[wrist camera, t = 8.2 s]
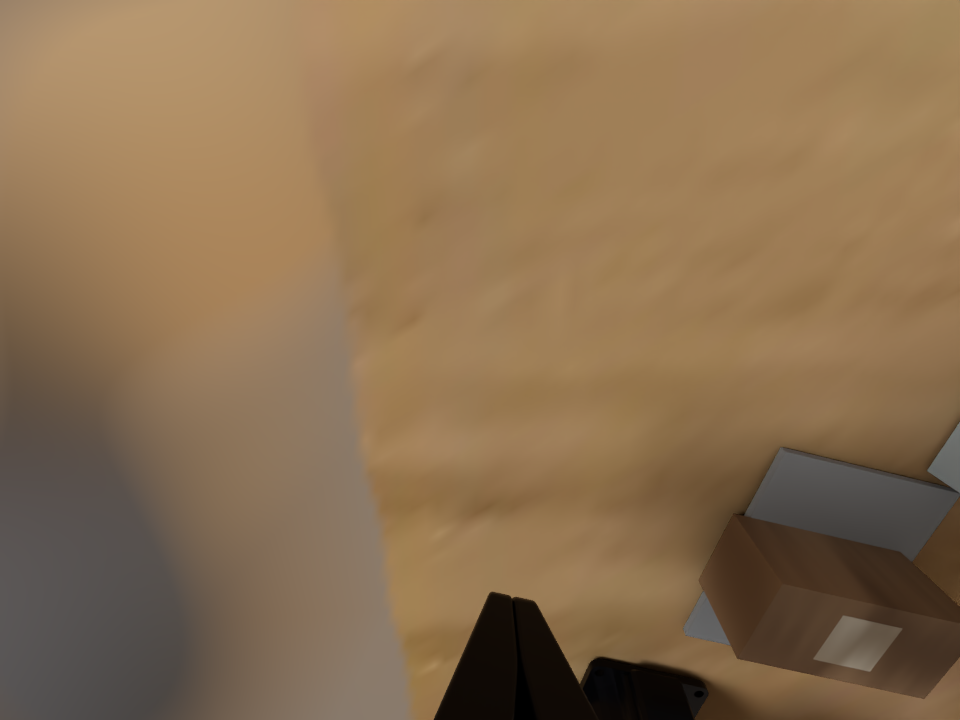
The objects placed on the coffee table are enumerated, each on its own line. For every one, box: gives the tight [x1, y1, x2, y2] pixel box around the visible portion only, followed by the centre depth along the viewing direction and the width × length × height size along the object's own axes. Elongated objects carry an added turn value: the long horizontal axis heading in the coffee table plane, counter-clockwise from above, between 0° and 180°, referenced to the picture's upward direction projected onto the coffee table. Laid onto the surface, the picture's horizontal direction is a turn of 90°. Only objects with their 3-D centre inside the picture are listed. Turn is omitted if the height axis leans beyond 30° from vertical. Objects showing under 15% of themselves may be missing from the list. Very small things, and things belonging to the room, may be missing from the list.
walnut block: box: [699, 514, 960, 699], centre depth 20 cm, size 4×4×8 cm
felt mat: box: [683, 447, 960, 645], centre depth 23 cm, size 11×8×1 cm
